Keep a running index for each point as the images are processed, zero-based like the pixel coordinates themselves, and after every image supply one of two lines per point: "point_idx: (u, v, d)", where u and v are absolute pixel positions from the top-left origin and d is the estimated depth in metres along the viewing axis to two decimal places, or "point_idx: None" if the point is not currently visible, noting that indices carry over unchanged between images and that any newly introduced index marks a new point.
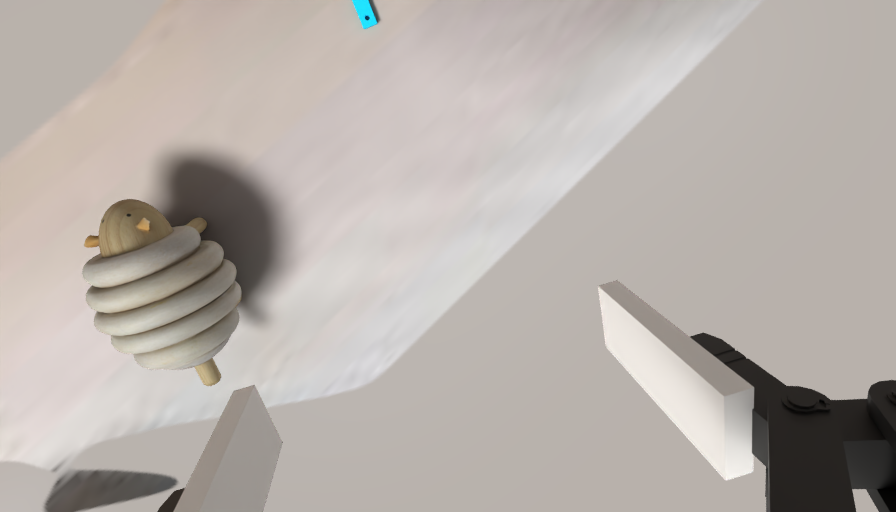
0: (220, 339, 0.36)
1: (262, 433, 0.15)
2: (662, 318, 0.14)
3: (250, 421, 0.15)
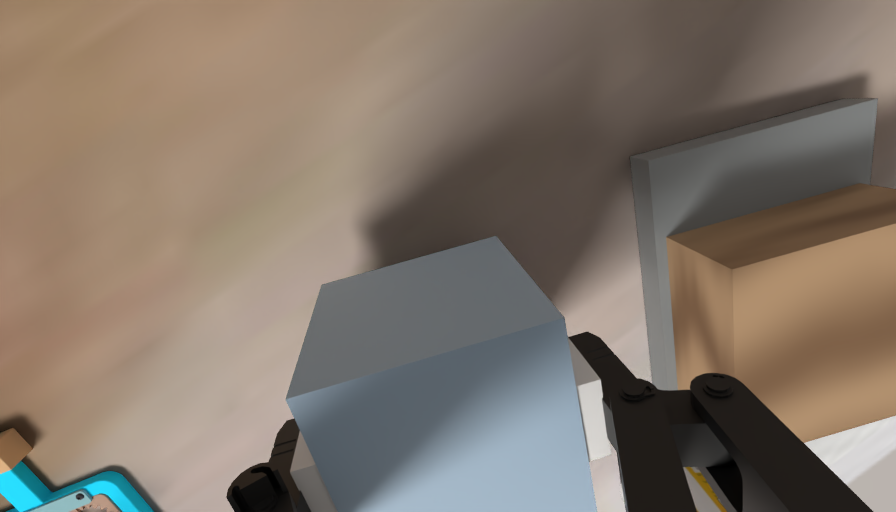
0: None
1: None
2: None
3: None
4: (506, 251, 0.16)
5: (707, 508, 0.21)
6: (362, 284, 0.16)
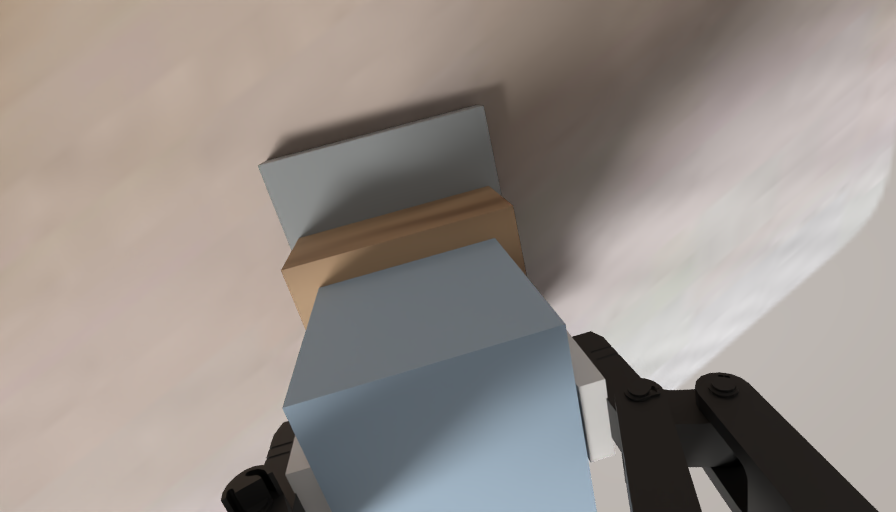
0: None
1: None
2: None
3: None
4: (505, 254, 0.16)
5: None
6: (360, 287, 0.16)
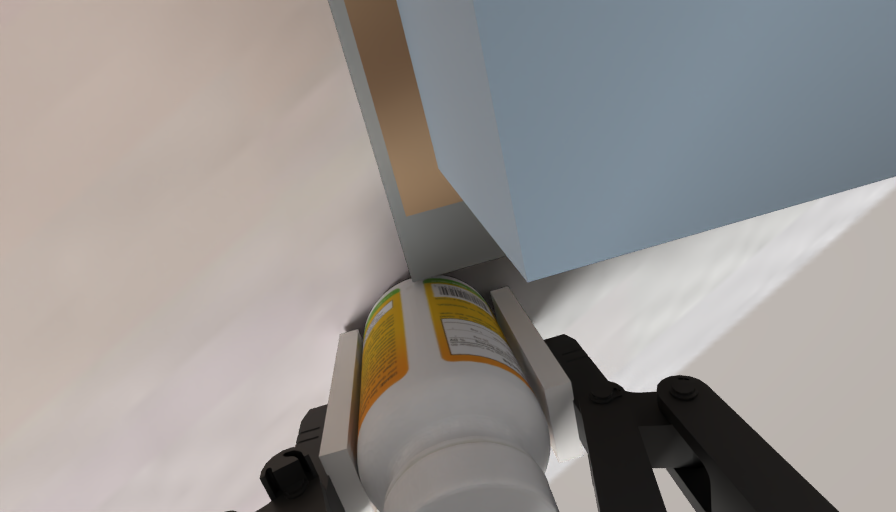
0: None
1: None
2: (528, 321, 0.15)
3: (360, 357, 0.17)
4: None
5: (419, 328, 0.14)
6: None
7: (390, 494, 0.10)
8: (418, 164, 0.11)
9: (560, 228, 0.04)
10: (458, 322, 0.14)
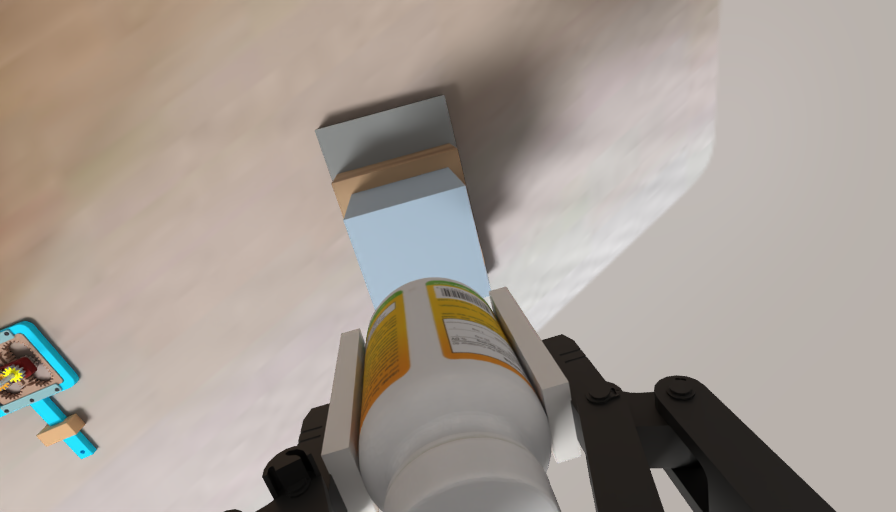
0: None
1: None
2: (526, 321, 0.15)
3: (362, 356, 0.17)
4: (450, 171, 0.30)
5: (421, 328, 0.14)
6: (374, 190, 0.30)
7: (391, 489, 0.10)
8: None
9: None
10: (459, 323, 0.14)
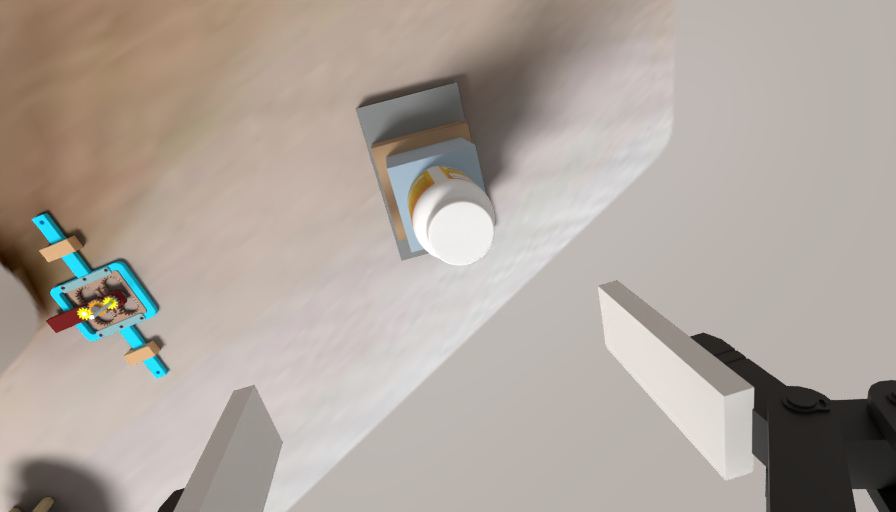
0: None
1: (262, 433, 0.15)
2: (662, 318, 0.14)
3: (250, 421, 0.15)
4: (462, 139, 0.39)
5: (438, 175, 0.30)
6: (404, 153, 0.39)
7: (429, 216, 0.27)
8: (401, 227, 0.43)
9: (414, 246, 0.36)
10: (455, 174, 0.30)
